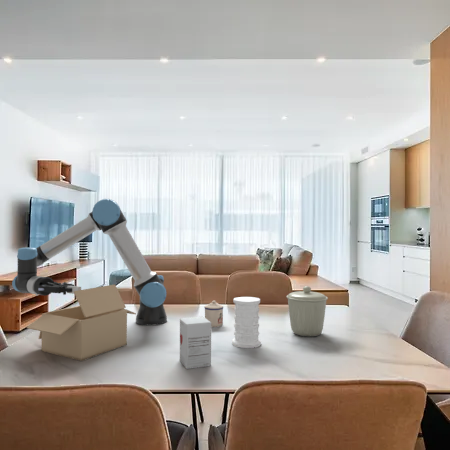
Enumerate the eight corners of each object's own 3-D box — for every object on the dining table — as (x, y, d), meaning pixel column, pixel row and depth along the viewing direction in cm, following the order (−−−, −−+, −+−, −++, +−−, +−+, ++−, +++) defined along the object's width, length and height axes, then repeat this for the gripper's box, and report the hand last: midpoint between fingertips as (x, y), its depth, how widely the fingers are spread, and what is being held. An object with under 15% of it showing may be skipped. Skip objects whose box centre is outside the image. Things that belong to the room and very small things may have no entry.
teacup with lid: (221, 327, 179) (221, 302, 179) (202, 327, 180) (202, 302, 181) (225, 321, 191) (225, 298, 191) (207, 321, 192) (207, 297, 192)
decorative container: (256, 349, 147) (256, 302, 148) (228, 346, 151) (228, 300, 152) (264, 341, 158) (264, 297, 158) (237, 338, 162) (237, 295, 162)
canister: (296, 326, 183) (296, 282, 183) (333, 332, 172) (333, 285, 172) (279, 334, 168) (279, 286, 168) (318, 342, 158) (318, 290, 158)
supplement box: (178, 360, 134) (179, 318, 135) (203, 357, 138) (203, 315, 138) (186, 369, 126) (186, 324, 126) (211, 366, 129) (211, 321, 129)
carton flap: (85, 317, 134) (73, 291, 137) (125, 307, 151) (114, 284, 154) (85, 317, 134) (74, 291, 137) (125, 307, 151) (115, 284, 154)
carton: (16, 354, 139) (16, 315, 140) (95, 331, 171) (95, 299, 172) (63, 367, 127) (63, 324, 127) (139, 340, 159) (139, 305, 159)
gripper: (54, 292, 166) (92, 297, 154) (26, 297, 155) (65, 303, 143) (55, 275, 166) (93, 279, 154) (26, 278, 155) (65, 282, 143)
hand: (79, 290), depth 149 cm, fingers closed
